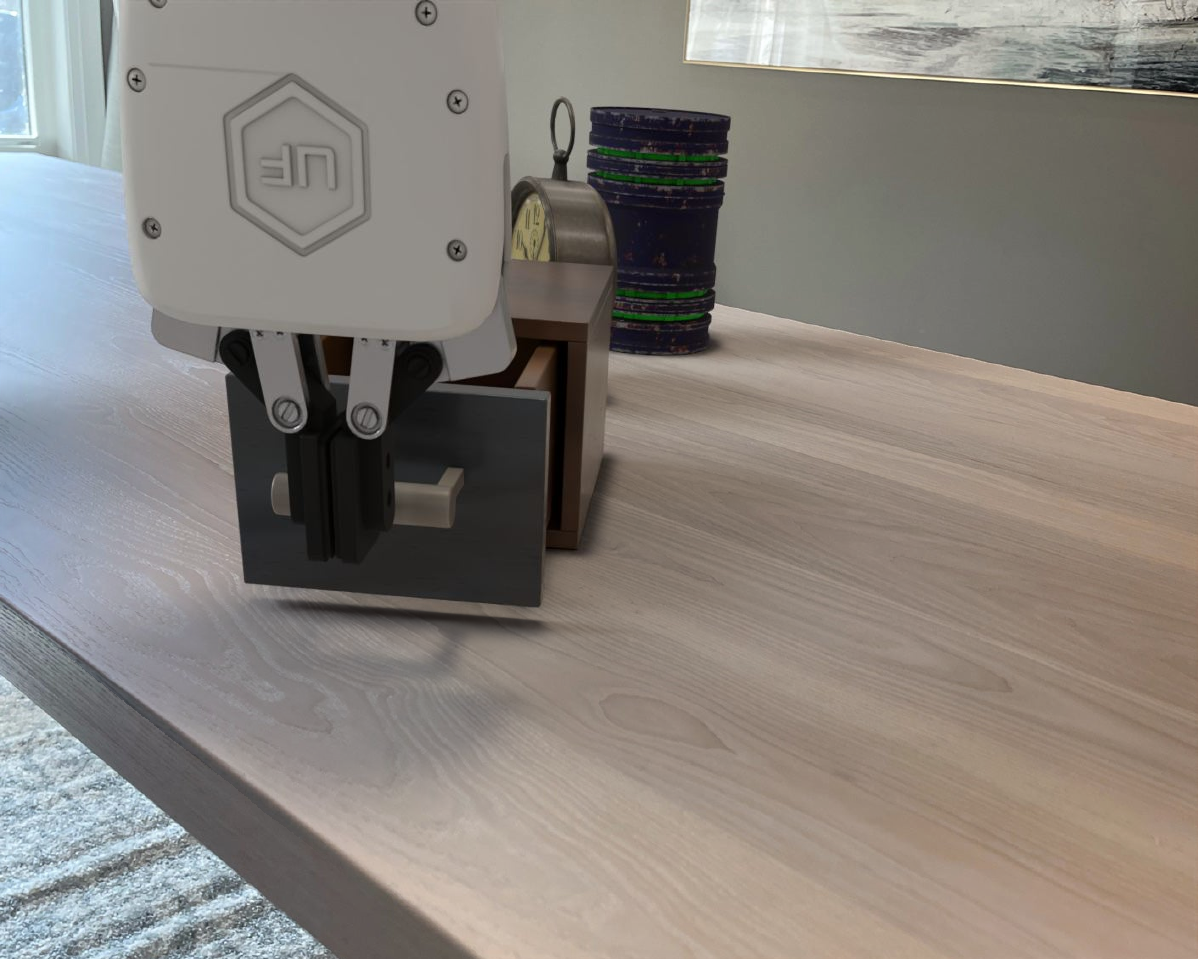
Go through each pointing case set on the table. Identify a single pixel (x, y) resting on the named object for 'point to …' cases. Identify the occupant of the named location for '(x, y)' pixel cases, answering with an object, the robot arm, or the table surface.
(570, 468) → the cabinet
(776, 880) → the table surface
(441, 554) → the drawer
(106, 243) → the table surface
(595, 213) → the alarm clock
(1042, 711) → the table surface
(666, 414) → the table surface
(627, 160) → the storage jar
